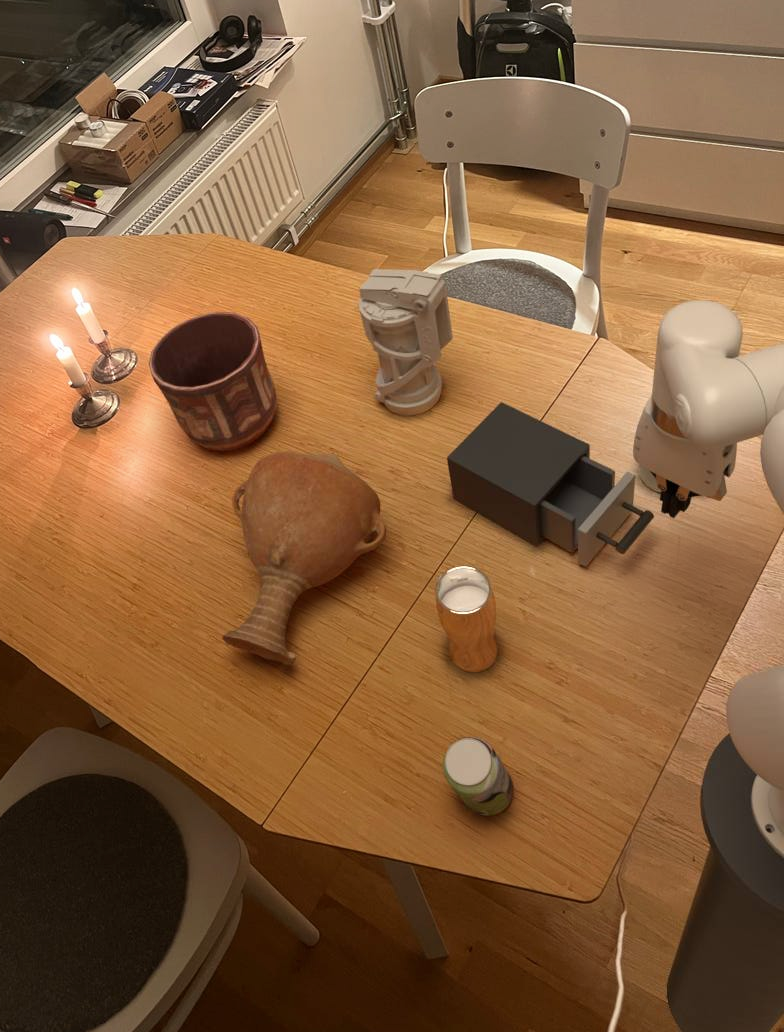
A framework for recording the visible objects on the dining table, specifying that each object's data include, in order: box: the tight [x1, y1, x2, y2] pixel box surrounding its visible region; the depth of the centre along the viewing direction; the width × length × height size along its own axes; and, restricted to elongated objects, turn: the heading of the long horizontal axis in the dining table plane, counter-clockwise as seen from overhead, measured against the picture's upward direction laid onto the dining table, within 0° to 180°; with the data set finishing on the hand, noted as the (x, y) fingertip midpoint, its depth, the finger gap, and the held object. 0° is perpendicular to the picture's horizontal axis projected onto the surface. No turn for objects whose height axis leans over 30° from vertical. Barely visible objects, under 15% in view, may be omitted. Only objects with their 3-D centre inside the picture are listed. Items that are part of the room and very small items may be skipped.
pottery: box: [148, 311, 278, 452], centre depth 148 cm, size 18×18×18 cm
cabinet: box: [446, 401, 591, 548], centre depth 129 cm, size 15×13×10 cm
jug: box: [222, 451, 387, 665], centre depth 124 cm, size 20×19×30 cm
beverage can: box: [442, 736, 514, 817], centre depth 101 cm, size 6×7×12 cm
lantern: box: [358, 268, 454, 417], centre depth 140 cm, size 13×10×25 cm
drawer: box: [538, 456, 655, 568], centre depth 123 cm, size 18×11×8 cm, turn 45°
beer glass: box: [434, 565, 499, 673], centre depth 112 cm, size 7×7×15 cm
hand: (674, 507), depth 109 cm, fingers closed
